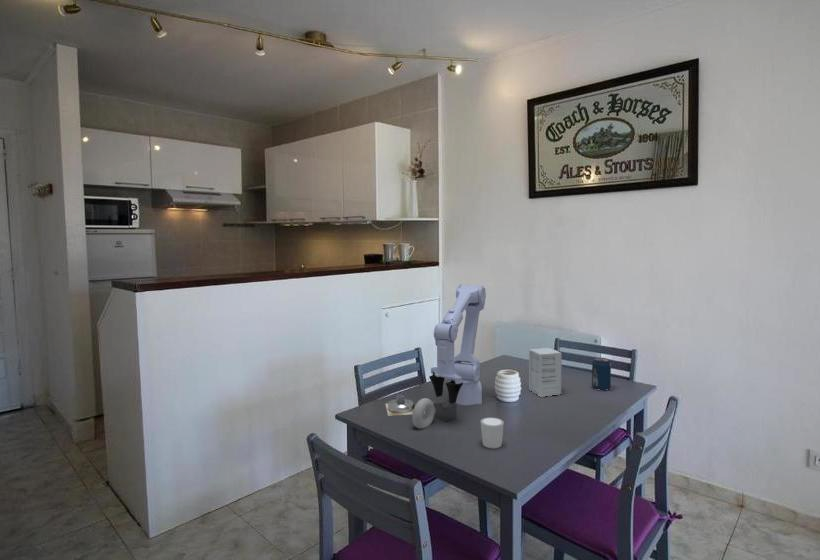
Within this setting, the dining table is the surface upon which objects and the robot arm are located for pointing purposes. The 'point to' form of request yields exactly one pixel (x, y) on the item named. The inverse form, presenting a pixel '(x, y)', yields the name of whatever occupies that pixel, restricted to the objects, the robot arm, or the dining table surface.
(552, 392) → the supplement box
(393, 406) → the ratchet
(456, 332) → the robot arm
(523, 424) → the dining table surface
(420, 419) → the donut
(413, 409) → the board
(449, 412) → the charcoal matte cube
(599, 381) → the soda can
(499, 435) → the shot glass
